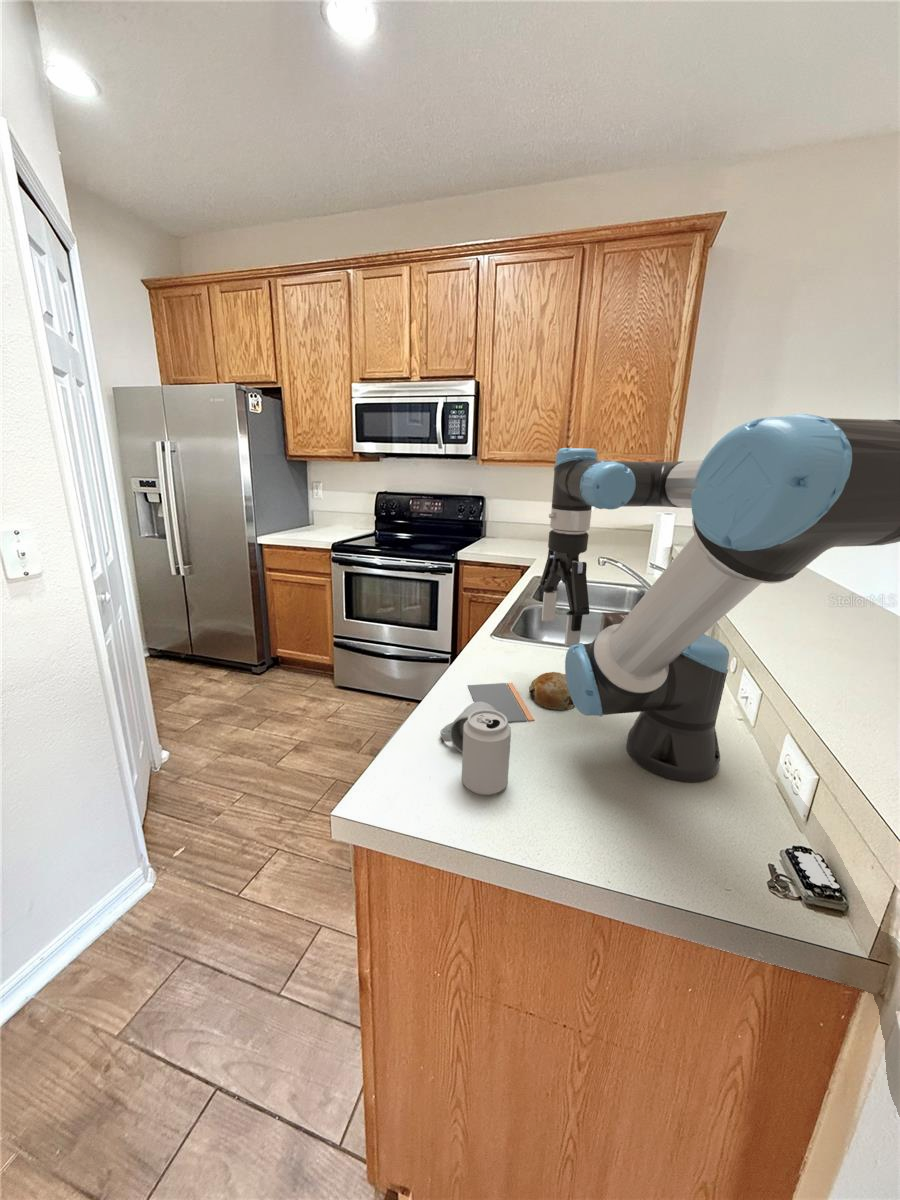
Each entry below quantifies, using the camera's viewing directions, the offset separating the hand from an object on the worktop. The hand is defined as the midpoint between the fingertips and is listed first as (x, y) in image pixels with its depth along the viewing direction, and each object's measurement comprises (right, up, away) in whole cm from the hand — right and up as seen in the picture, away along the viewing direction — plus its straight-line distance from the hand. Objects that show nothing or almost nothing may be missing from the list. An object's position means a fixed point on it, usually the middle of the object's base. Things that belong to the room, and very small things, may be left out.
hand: (559, 632), depth 101 cm
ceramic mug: (-19, -20, -12) cm, 30 cm away
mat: (-12, -15, +3) cm, 20 cm away
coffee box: (+16, -13, +13) cm, 24 cm away
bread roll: (0, -15, +5) cm, 16 cm away
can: (-17, -23, -22) cm, 36 cm away
